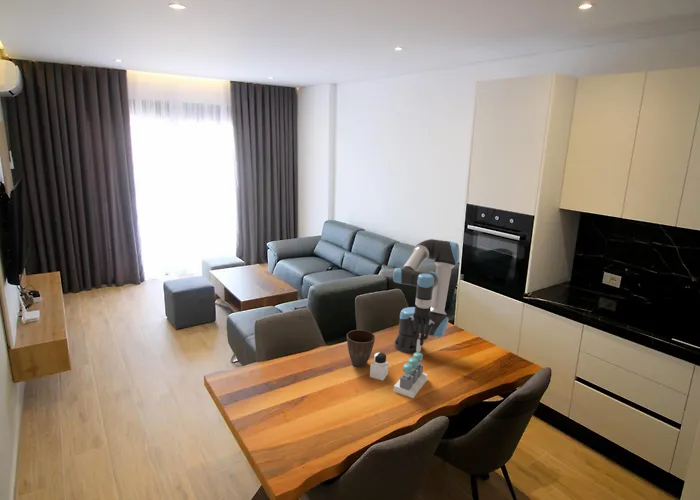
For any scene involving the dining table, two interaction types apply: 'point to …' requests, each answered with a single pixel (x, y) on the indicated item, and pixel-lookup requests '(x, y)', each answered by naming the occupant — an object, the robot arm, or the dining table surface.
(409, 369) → the knob
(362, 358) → the plant pot
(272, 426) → the dining table surface
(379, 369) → the medicine bottle
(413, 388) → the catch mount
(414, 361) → the knob
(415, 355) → the knob
